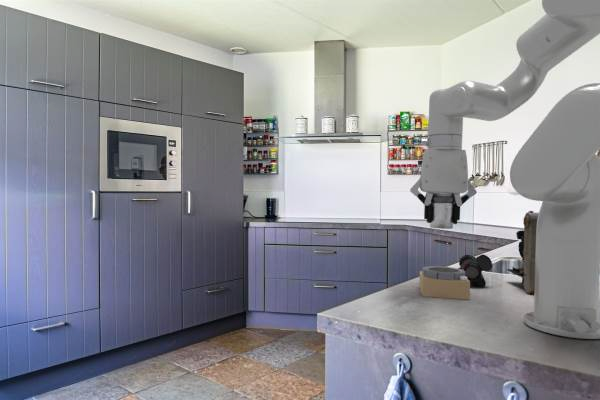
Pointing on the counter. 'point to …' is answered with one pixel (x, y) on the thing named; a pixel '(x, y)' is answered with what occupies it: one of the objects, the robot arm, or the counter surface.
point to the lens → (442, 210)
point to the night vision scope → (475, 268)
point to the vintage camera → (527, 252)
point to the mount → (444, 283)
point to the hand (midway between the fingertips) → (441, 222)
